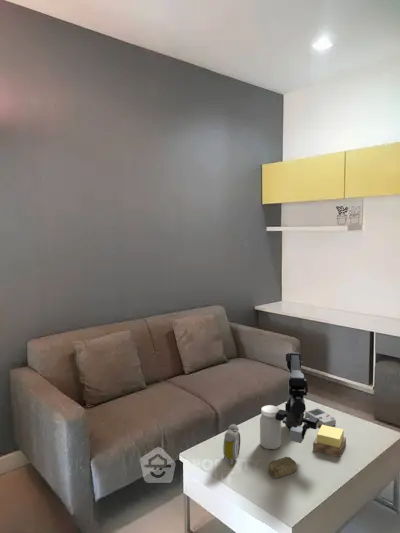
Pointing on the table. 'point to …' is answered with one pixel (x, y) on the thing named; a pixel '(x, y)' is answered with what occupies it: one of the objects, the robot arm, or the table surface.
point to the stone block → (281, 467)
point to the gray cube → (296, 434)
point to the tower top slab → (330, 436)
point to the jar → (270, 428)
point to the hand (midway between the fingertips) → (297, 437)
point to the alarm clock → (231, 443)
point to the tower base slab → (329, 448)
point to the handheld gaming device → (321, 416)
